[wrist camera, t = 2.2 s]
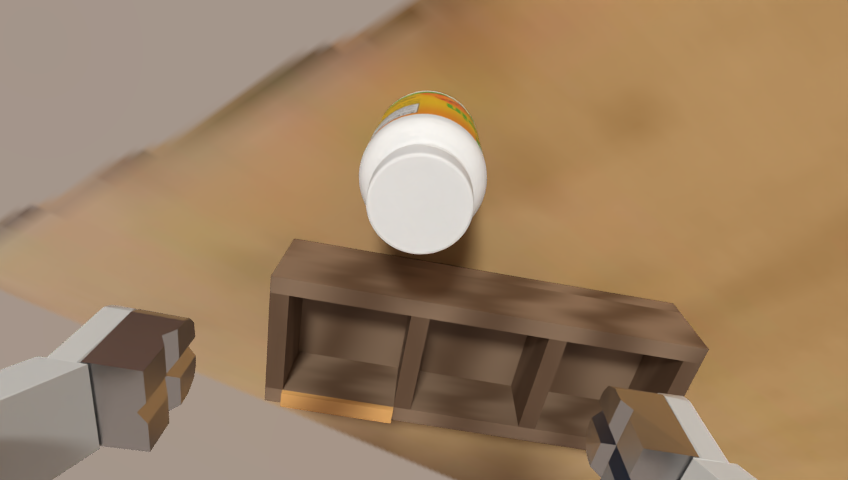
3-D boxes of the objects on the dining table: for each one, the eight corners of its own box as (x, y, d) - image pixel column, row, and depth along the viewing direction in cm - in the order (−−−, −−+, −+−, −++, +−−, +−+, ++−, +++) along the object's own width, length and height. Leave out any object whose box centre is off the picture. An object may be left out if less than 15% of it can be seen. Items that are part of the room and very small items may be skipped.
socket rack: (673, 303, 31) (711, 352, 26) (624, 408, 34) (650, 466, 30) (294, 238, 30) (268, 278, 25) (286, 354, 33) (263, 406, 29)
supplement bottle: (495, 156, 27) (521, 229, 18) (412, 204, 28) (398, 294, 20) (444, 68, 25) (445, 102, 16) (358, 124, 27) (316, 183, 18)
